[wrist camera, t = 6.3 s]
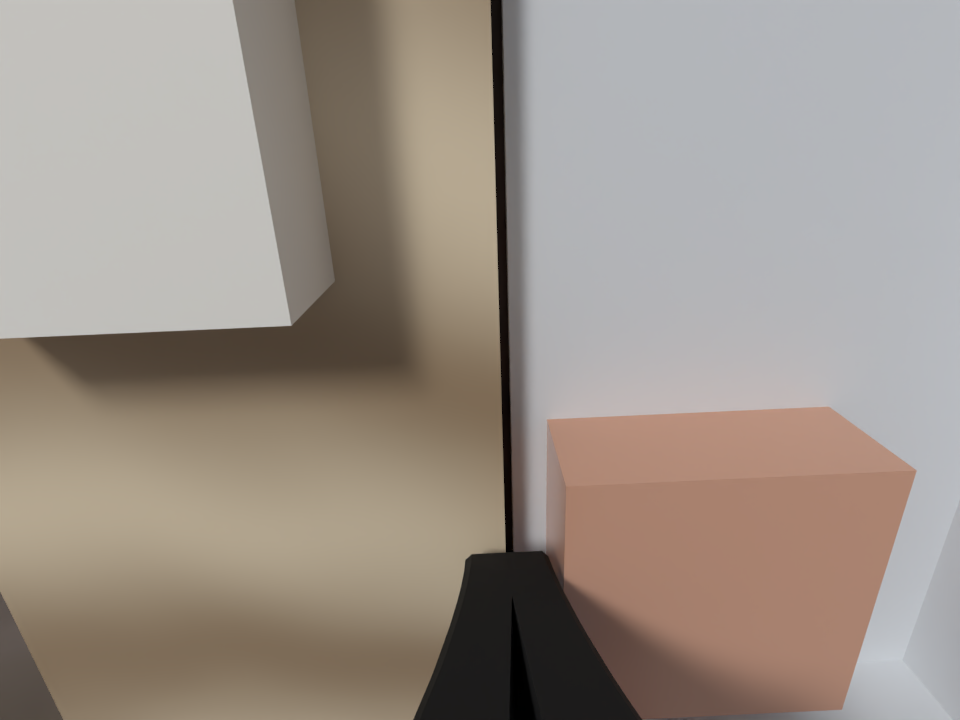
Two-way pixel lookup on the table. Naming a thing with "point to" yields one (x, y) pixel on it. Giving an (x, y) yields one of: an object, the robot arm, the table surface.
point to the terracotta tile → (723, 552)
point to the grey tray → (749, 257)
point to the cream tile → (156, 168)
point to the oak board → (284, 428)
